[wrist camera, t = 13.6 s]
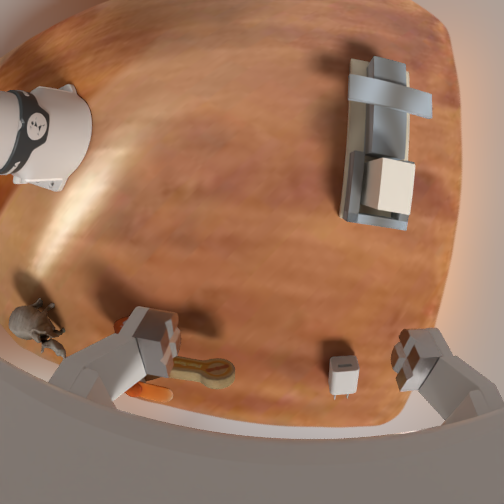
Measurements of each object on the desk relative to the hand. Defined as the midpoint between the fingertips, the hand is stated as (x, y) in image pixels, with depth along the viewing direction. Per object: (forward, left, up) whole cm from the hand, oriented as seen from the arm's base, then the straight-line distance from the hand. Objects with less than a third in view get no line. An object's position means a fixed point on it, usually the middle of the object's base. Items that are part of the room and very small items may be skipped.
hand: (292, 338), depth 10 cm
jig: (+9, +12, -27) cm, 31 cm away
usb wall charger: (+10, -21, -27) cm, 36 cm away
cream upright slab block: (+9, +6, -26) cm, 28 cm away
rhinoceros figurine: (-44, -23, -27) cm, 57 cm away
